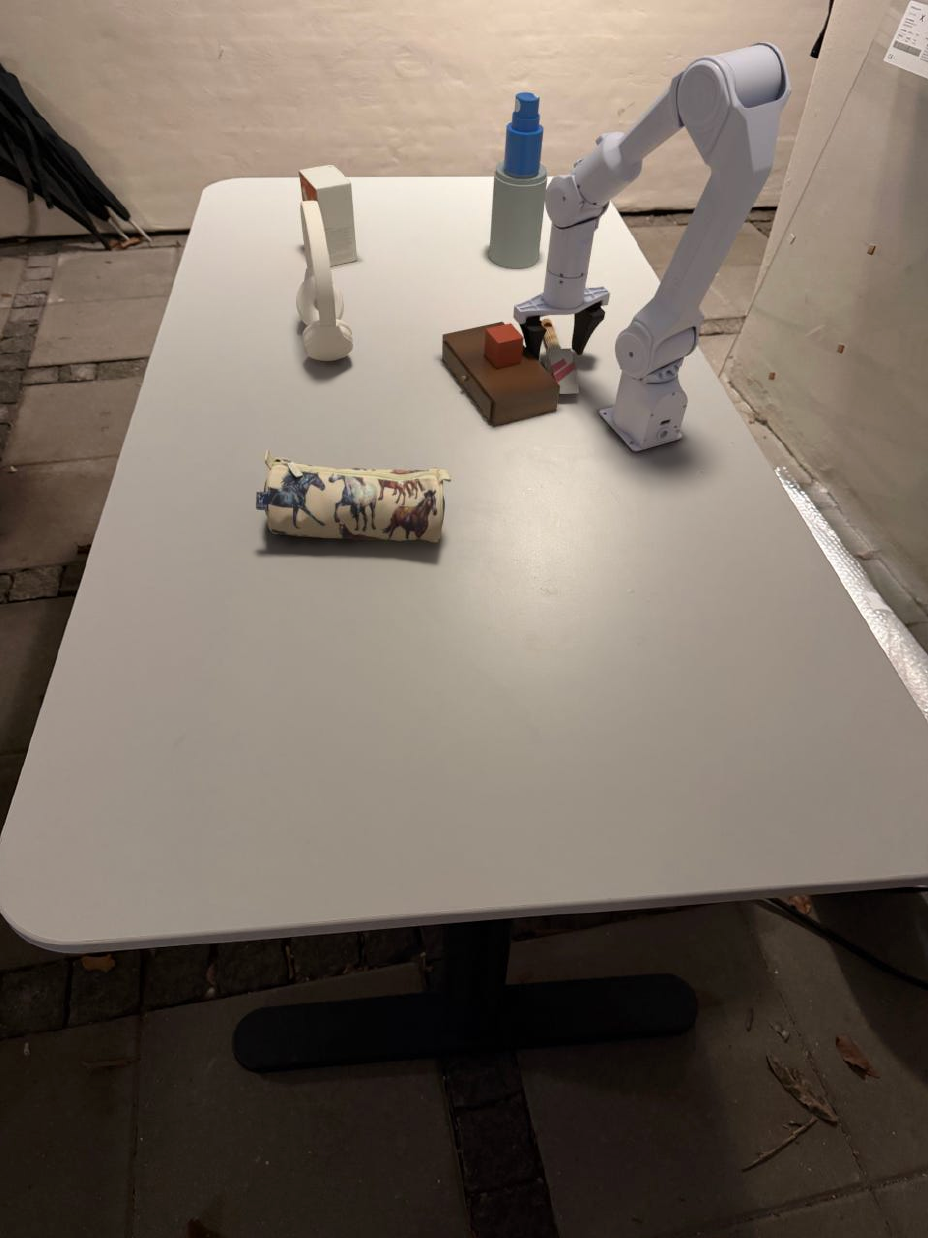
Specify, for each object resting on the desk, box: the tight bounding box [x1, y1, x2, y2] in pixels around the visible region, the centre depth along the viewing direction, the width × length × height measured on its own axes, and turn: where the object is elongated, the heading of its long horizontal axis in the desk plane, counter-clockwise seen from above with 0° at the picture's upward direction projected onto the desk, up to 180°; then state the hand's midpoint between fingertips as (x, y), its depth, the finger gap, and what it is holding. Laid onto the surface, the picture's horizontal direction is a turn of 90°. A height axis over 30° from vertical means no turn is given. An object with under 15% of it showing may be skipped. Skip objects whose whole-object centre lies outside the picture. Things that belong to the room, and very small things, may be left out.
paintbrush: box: [541, 318, 580, 395], centre depth 117 cm, size 4×3×20 cm
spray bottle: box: [488, 91, 548, 270], centre depth 129 cm, size 9×9×25 cm
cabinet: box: [441, 321, 560, 427], centre depth 112 cm, size 18×11×4 cm, turn 25°
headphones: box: [295, 201, 354, 362], centre depth 111 cm, size 7×18×20 cm, turn 13°
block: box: [484, 322, 525, 369], centre depth 109 cm, size 4×4×4 cm
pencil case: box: [255, 449, 452, 543], centre depth 90 cm, size 22×8×10 cm, turn 88°
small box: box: [298, 164, 358, 267], centre depth 132 cm, size 8×6×13 cm
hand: (554, 356), depth 116 cm, fingers open, 7 cm apart
